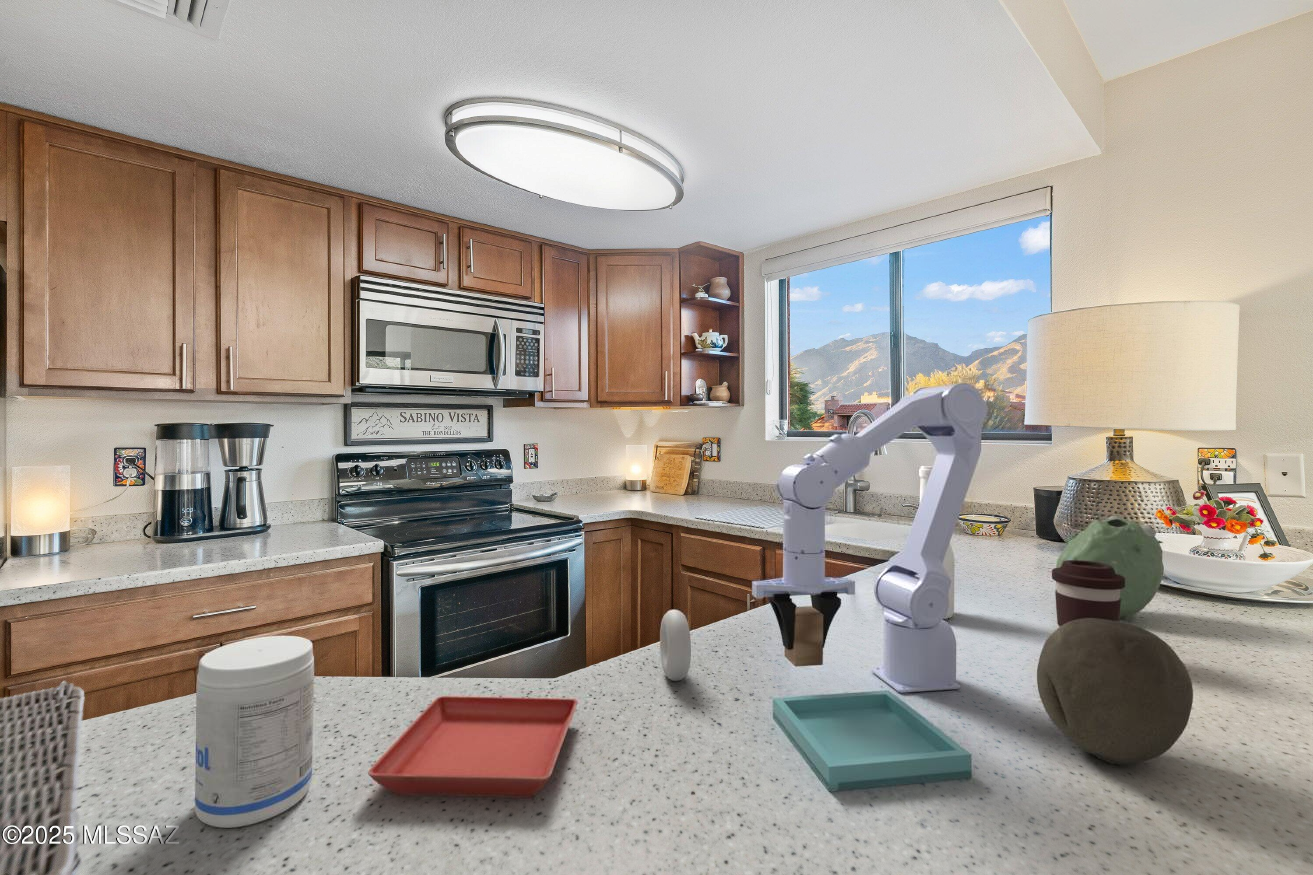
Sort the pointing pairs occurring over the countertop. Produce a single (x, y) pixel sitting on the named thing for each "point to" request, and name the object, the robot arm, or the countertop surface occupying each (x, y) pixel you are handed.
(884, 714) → the tray
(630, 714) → the countertop surface
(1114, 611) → the coffee cup
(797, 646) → the block
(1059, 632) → the grey river stone
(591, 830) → the countertop surface
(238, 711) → the supplement tub
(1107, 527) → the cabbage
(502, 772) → the plant saucer
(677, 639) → the donut
